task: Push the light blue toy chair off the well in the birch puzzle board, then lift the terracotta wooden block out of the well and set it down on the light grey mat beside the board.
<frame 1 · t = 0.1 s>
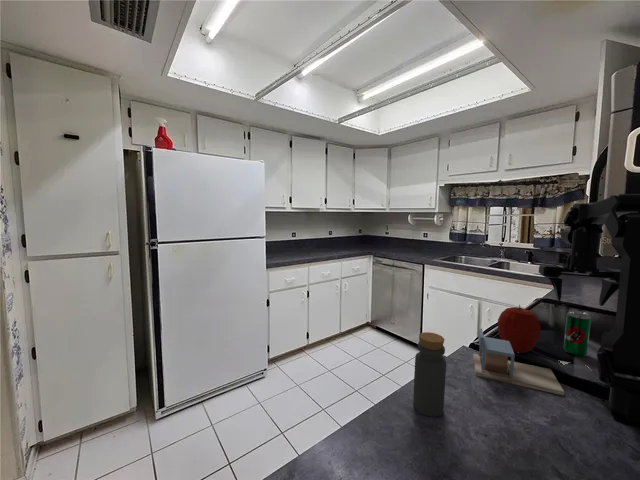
hand: (579, 302, 80), 15 cm above the counter, tool pointing down, fingers open, 9 cm apart
bottle: (427, 407, 58), on the counter
board: (513, 374, 70), on the counter
mat: (578, 372, 71), on the counter
block: (494, 369, 71), resting on board
apple: (516, 351, 82), on the counter
soda can: (574, 353, 81), on the counter
light blue toy chair: (494, 350, 71), point 5 cm above the counter, slide at 0.0 cm
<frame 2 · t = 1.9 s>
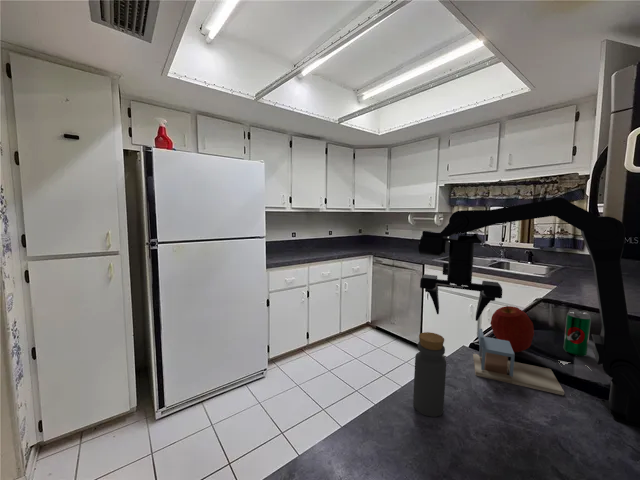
hand: (456, 317, 74), 12 cm above the counter, tool pointing down, fingers open, 9 cm apart
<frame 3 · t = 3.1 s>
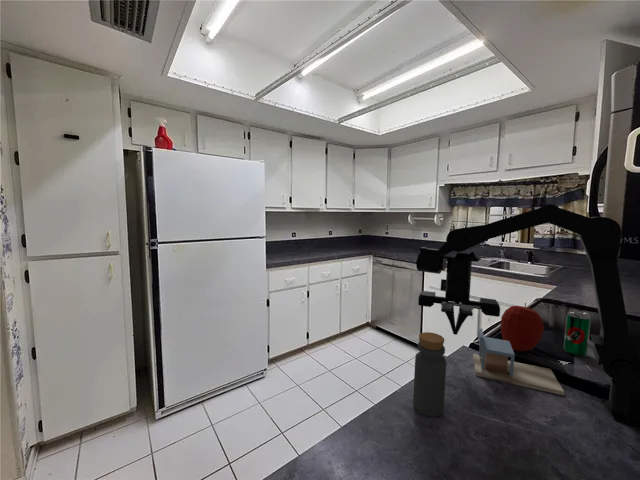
hand: (455, 334, 75), 8 cm above the counter, tool pointing down, fingers closed
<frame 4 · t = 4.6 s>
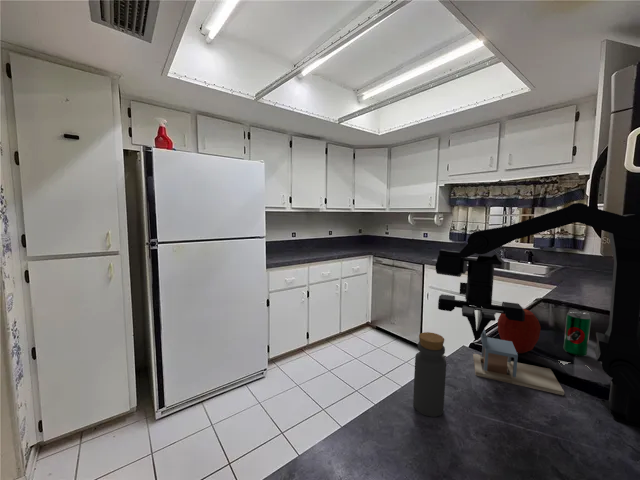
hand: (476, 339, 73), 7 cm above the counter, tool pointing down, fingers closed
light blue toy chair: (497, 350, 71), point 5 cm above the counter, slide at 0.6 cm, touching gripper
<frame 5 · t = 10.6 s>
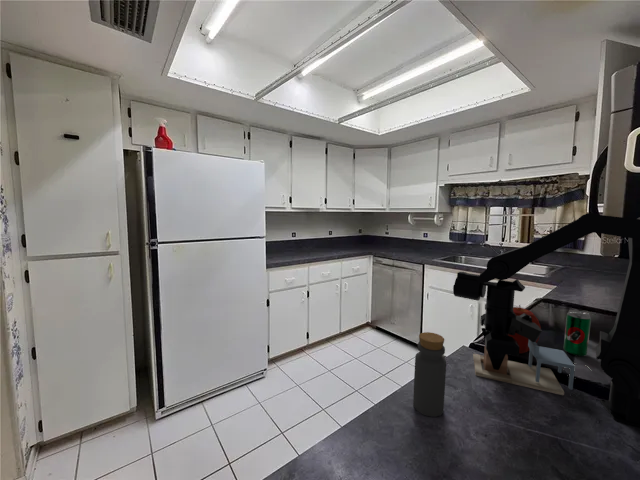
hand: (494, 364, 71), 2 cm above the counter, tool pointing down, fingers closed on block, 4 cm apart
block: (494, 369, 71), resting on board, touching gripper
light blue toy chair: (548, 360, 66), point 5 cm above the counter, slide at 11.0 cm
everything else where it was.
when the fingers open (3 cm above the counter, at t = 15.7 s): block stays where it is, resting on mat.
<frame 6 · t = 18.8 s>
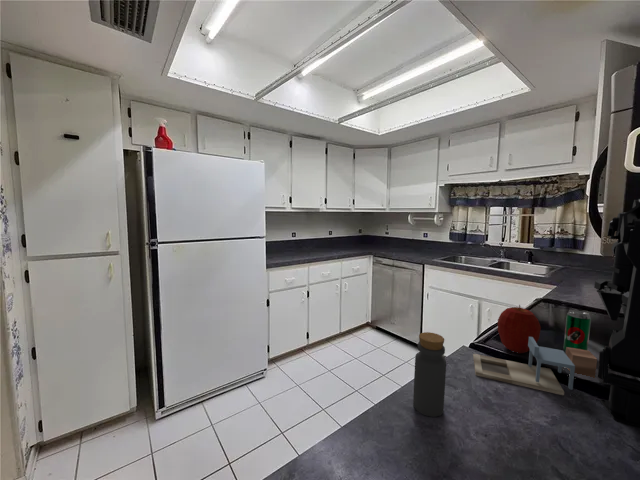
hand: (623, 326, 70), 12 cm above the counter, tool pointing down, fingers open, 9 cm apart
block: (579, 371, 70), resting on mat
everything else where it was.
at the end: light blue toy chair slide at 11.0 cm; block inside the target area (0.5 cm from its centre), resting on mat; block tilted 0° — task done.
